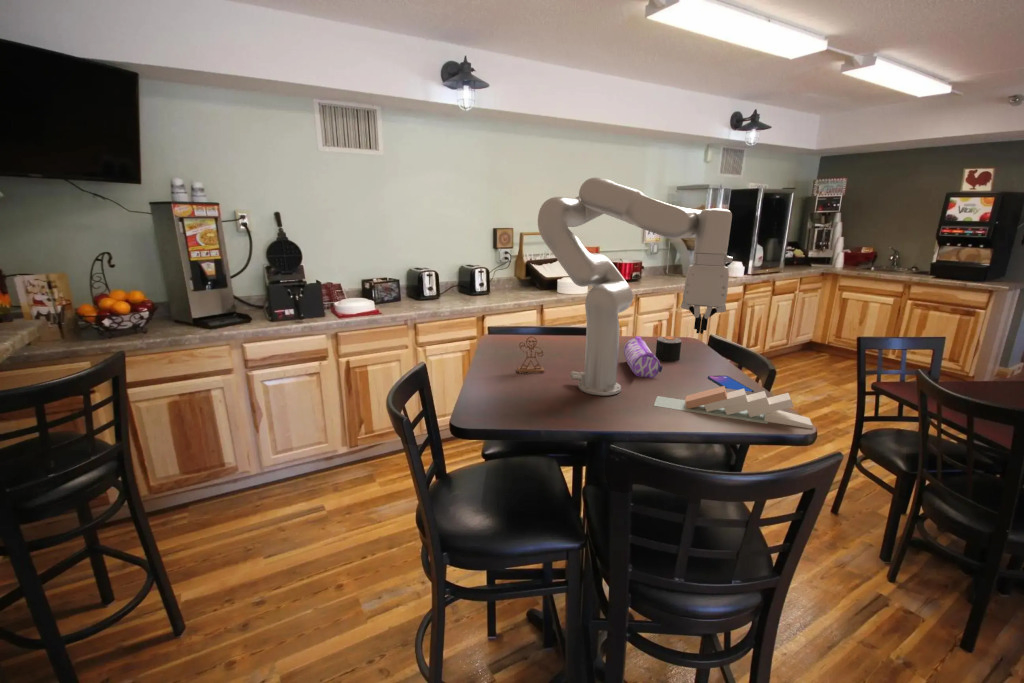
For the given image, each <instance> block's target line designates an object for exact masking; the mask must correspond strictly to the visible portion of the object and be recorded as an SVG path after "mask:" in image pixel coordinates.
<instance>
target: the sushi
mask: <svg viewBox="0 0 1024 683" xmlns="http://www.w3.org/2000/svg"><path fill="white" fill-rule="evenodd" d="M655 346H656V347H655V348H656V349H655V354H654V355H655V356H656V358H657V359H658V358H659V359H658V360H662V361H665V362H666V361H667V362H673V361H674V362H675V360H677V361H679V360H680V359H681V349H682V339H680V338H679V337H674V336H670V335H669V336H660V337H657V338H656V345H655Z"/></svg>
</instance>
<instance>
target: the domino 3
mask: <svg viewBox="0 0 1024 683" xmlns="http://www.w3.org/2000/svg"><path fill="white" fill-rule="evenodd" d="M746 395H747V394H746ZM768 398H769V397H768V396H767V394H766V391H765V390H763V391H759V392H756V393H754V392H753V393H751V394H748V395H747V400H748V402H745V403H741V404H737V405H733V406H729V407H725V408H724V409H725V412H726V414H727V415H729V414H733V413H737V412H742V411H746V410H750V409H754V408H758V407H762V406H766V405H769V402H768Z"/></svg>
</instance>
